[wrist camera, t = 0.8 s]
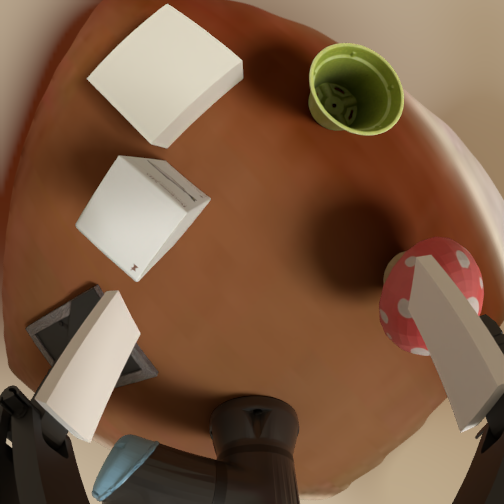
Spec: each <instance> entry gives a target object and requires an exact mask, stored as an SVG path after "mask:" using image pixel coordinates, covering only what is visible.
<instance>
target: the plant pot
mask: <svg viewBox="0 0 504 504" xmlns="http://www.w3.org/2000/svg"><path fill="white" fill-rule="evenodd" d="M309 85H310V90H311V92H310V96H309V100H308V106H309V109H310V112H311V114H312V116H313V118H314V119H315V120H316V121H317V122H318V123H319V124H320V125H321V126H323V127H325V128H327V129H330V130H346V131H348V132H351V133H354V134H359V135H376V134H380V133H383V132H385V131H387V130H389V129H390V128H392V127H393V126H394V125H395V124H396V123H397V121H398V120H399V118H400V116H401V113H402V110H403V105H404V93H403V88H402V85H401V82H400V79H399V77H398V76H397V74H396V72H395V70H394V69H393V68H392V66H391V65H390V64H389V63H388V62H387V61H386V60H385V59H384V58H383V57H382V56H380V55H379V54H378V53H376V52H374V51H373V50H371V49H369V48H366V47H364V46H361V45H357V44H351V43H340V44H334V45H331V46H328V47H326V48H325V49H323V50H322V51H320V52H319V53H318V54H317V56H316V57H315V58H314V60H313V62H312V64H311V67H310V71H309ZM334 88H339V89H341V90H343V91H344V94H343V93H341V92H340V91H338V90H335V89H334ZM316 93H318V96H317V94H316ZM332 104H336V107H335V108H334V107H333V106H332ZM351 110H353V114H352V118H351V119H348V117H349V115H350V113H351Z"/></svg>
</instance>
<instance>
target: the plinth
mask: <svg viewBox="0 0 504 504" xmlns="http://www.w3.org/2000/svg"><path fill="white" fill-rule="evenodd" d="M242 79H243V62H242V60H241V59H240V58H239V57H238V56H236V55H235V54H234V53H233V52H232V51H231V50H229V49H228V48H227V47H226V46H224V45H223V44H222V43H221V42H219V41H218V40H217V39H216V38H214V37H213V36H212V35H211V34H209V33H208V32H207V31H205V30H204V29H203V28H201V27H200V26H199V25H197V24H196V23H195V22H193V21H192V20H190V19H189V18H188V17H186V16H185V15H183V14H182V13H180V12H179V11H177V10H176V9H174V8H173V7H171V6H170V5H168V4H166V5H165V6H163V7H162V8H161V9H159V10H158V11H157V12H156V13H154V14H153V15H152V16H151V17H149V18H148V19H147V20H146V21H145V22H143V23H142V24H141V25H140V26H139V27H138V28H136V29H135V30H134V31H133V32H132V33H131V34H130V35H129V36H128V37H126V38H125V39H124V40H123V41H122V42H121V43H120V44H119V45H118V46H117V47H116V48H115V49H114V50H113V51H112V52H111V53H110V54H109V55H108V56H107V57H106V58H105V59H104V60H103V61H102V62H101V63H100V64H99V65H98V67H97V68H96V69H95V70H94V71H93V72H92V73H91V74H90V76H89V77H88V78H87V80H88V81H89V82H90V83H91V84H92V85H93V86H94V87H95V88H96V89H97V90H98V91H99V92H100V93H101V94H102V95H103V96H104V97H105V98H106V99H107V100H108V101H109V102H110V103H111V104H112V105H113V106H114V107H115V108H116V109H117V110H118V111H119V112H120V113H121V114H122V115H123V116H124V117H125V118H126V119H127V120H128V121H129V122H130V123H131V124H132V125H133V126H134V127H135V128H136V129H137V131H138V132H139V133H140V134H141V135H142V136H143V137H144V138H145V139H146V140H147V141H148V142H149V143H150V144H152V145H156V146H160V147H164V148H168V147H169V146H170V145H171V144H172V143H173V142H174V141H175V140H176V139H177V138H178V137H179V136H180V135H181V134H182V133H183V132H184V131H185V130H186V129H187V128H188V127H189V126H190V125H191V124H192V123H193V122H194V121H195V120H196V119H197V118H198V117H199V116H201V115H202V114H203V113H204V112H205V111H206V110H207V109H208V108H209V107H210V106H212V105H213V104H214V103H215V102H216V101H217V100H218V99H219V98H221V97H222V96H223V95H224V94H225V93H226V92H228V91H229V90H230V89H231V88H232V87H234V86H235V85H236V84H237V83H238V82H240V81H241V80H242Z"/></svg>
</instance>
